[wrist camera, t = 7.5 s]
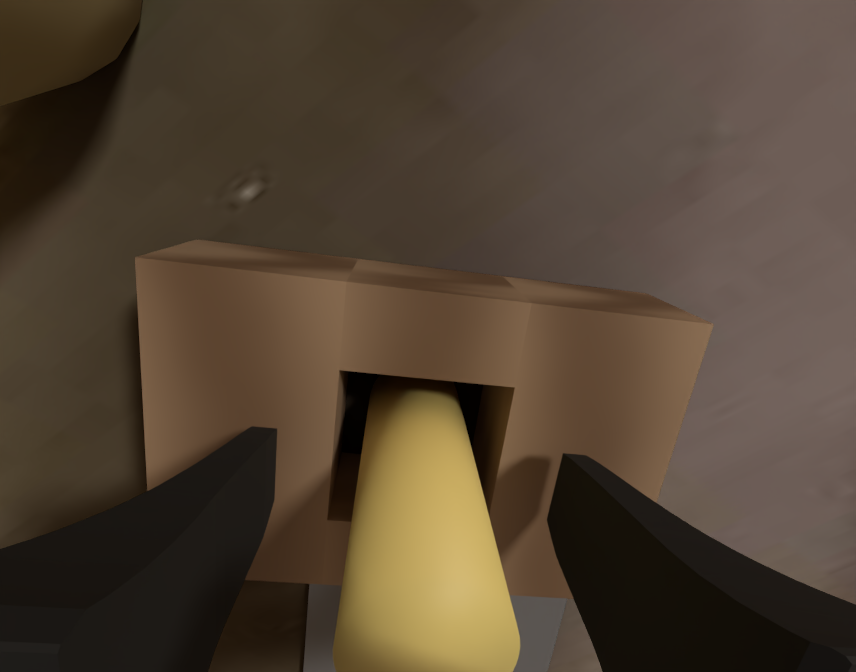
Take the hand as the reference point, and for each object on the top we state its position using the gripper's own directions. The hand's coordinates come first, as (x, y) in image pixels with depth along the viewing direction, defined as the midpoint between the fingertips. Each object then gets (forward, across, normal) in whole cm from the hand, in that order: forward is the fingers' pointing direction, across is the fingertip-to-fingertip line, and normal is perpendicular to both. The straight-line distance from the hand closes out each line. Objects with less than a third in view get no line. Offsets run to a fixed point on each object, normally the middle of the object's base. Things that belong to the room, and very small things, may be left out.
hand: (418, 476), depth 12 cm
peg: (+4, 0, 0) cm, 4 cm away
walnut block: (+4, 0, 0) cm, 4 cm away
